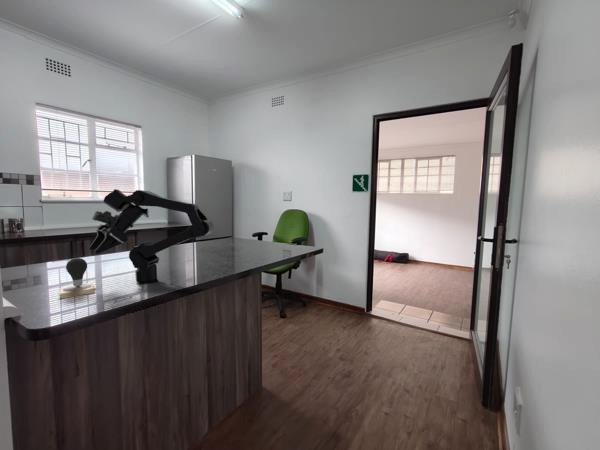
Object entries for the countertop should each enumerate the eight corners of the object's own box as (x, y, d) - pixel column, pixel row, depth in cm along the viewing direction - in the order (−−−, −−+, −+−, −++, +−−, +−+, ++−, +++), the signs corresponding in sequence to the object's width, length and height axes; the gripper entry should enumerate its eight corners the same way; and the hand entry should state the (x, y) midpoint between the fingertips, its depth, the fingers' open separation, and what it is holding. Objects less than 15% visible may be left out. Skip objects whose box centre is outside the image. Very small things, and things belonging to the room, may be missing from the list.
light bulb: (73, 290, 90) (71, 260, 90) (63, 288, 93) (61, 258, 92) (92, 285, 96) (90, 257, 95) (82, 284, 98) (80, 256, 97)
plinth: (93, 286, 100) (93, 281, 100) (95, 292, 94) (94, 287, 93) (60, 291, 95) (60, 286, 95) (60, 298, 88) (59, 293, 88)
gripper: (102, 203, 105) (66, 234, 98) (115, 203, 92) (75, 239, 85) (126, 222, 111) (94, 253, 104) (142, 225, 99) (107, 260, 91)
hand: (92, 251), depth 96 cm, fingers open, 9 cm apart
